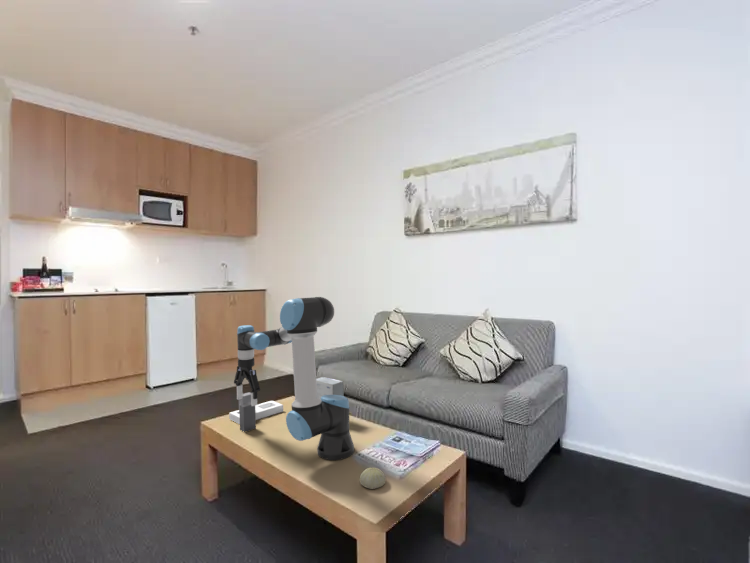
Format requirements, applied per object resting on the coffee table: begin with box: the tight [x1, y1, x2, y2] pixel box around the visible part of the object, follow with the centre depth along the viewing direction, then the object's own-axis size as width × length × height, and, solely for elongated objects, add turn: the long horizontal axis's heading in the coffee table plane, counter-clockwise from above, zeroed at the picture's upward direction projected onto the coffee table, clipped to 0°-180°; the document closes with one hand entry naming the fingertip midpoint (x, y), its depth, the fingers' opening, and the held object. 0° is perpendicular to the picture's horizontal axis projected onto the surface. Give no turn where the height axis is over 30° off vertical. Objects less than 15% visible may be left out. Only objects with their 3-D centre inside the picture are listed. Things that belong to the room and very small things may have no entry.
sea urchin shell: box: [359, 467, 386, 490], centre depth 139 cm, size 9×8×8 cm
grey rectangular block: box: [238, 402, 257, 433], centre depth 189 cm, size 4×6×12 cm, turn 137°
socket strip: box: [228, 391, 284, 425], centre depth 207 cm, size 11×25×12 cm, turn 137°
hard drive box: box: [316, 376, 345, 399], centre depth 199 cm, size 16×8×20 cm, turn 49°
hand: (246, 402), depth 189 cm, fingers open, 13 cm apart
